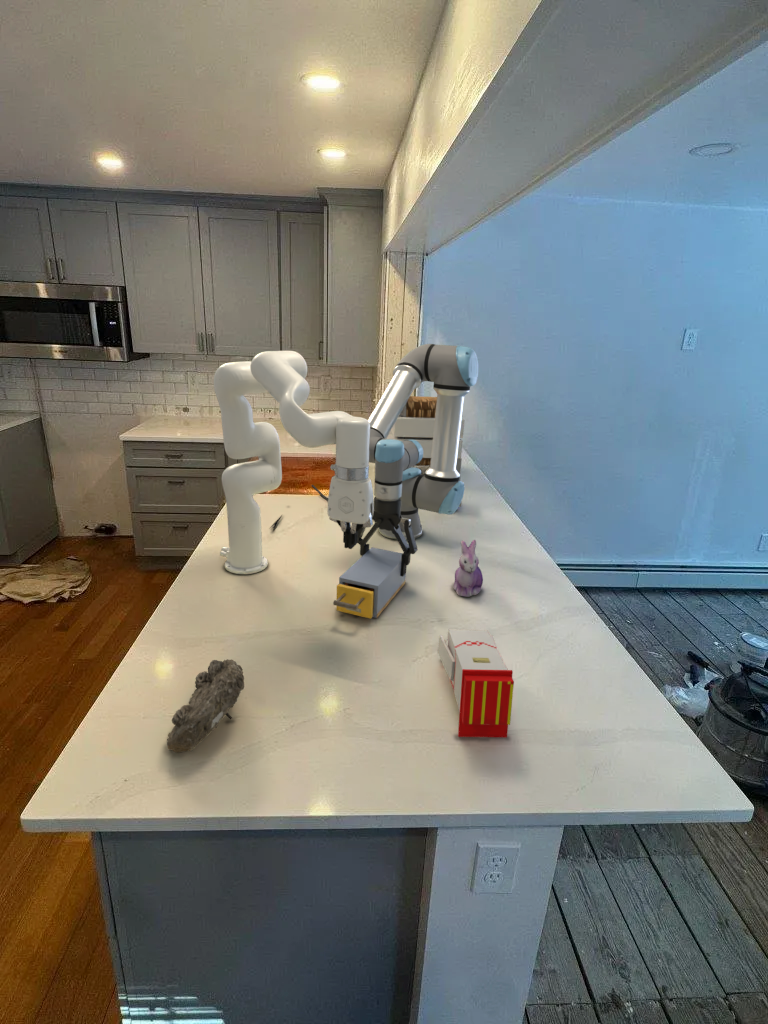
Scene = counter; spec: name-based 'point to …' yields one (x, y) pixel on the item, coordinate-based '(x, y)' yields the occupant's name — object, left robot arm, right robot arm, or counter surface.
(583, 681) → the counter surface
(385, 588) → the cabinet
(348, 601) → the drawer
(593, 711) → the counter surface
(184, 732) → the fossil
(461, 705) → the toy
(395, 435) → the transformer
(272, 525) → the feather
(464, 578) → the figurine
